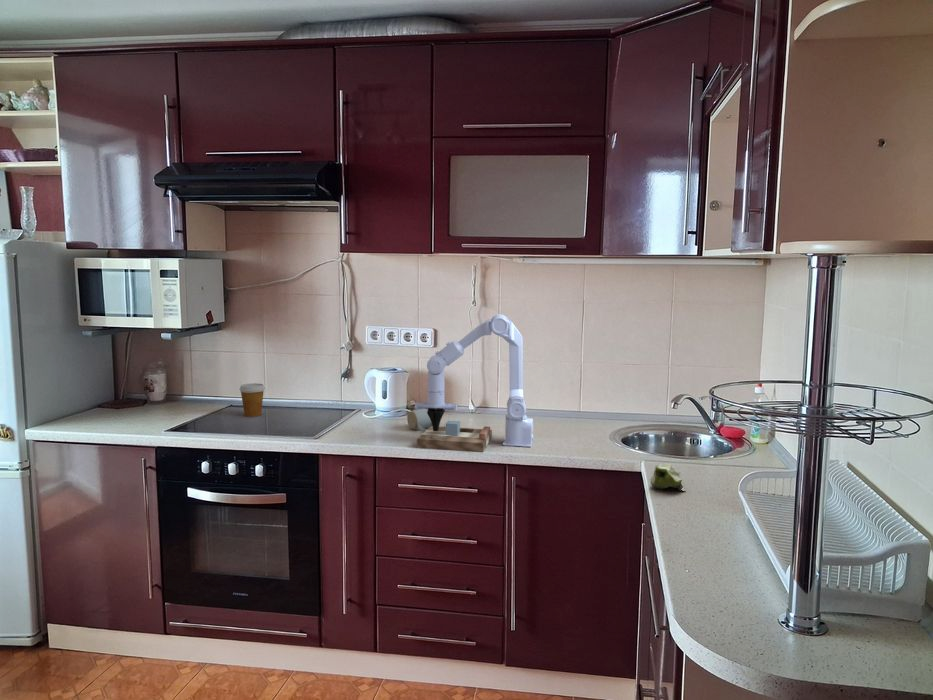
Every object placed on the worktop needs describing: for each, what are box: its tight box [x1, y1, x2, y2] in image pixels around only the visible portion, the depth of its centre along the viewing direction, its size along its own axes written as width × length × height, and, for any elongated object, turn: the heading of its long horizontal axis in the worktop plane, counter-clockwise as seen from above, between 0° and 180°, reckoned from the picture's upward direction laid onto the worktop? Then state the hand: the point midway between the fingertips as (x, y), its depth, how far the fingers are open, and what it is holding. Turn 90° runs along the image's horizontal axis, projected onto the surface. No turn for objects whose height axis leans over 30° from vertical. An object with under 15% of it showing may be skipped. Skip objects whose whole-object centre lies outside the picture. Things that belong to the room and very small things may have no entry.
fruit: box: [650, 463, 684, 491], centre depth 179 cm, size 9×9×8 cm
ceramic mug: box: [406, 409, 432, 433], centre depth 240 cm, size 11×8×8 cm
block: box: [445, 420, 461, 436], centre depth 223 cm, size 4×4×4 cm
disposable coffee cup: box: [239, 382, 266, 418], centre depth 260 cm, size 10×10×12 cm
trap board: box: [416, 426, 493, 453], centre depth 223 cm, size 22×18×5 cm
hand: (436, 430), depth 224 cm, fingers closed
